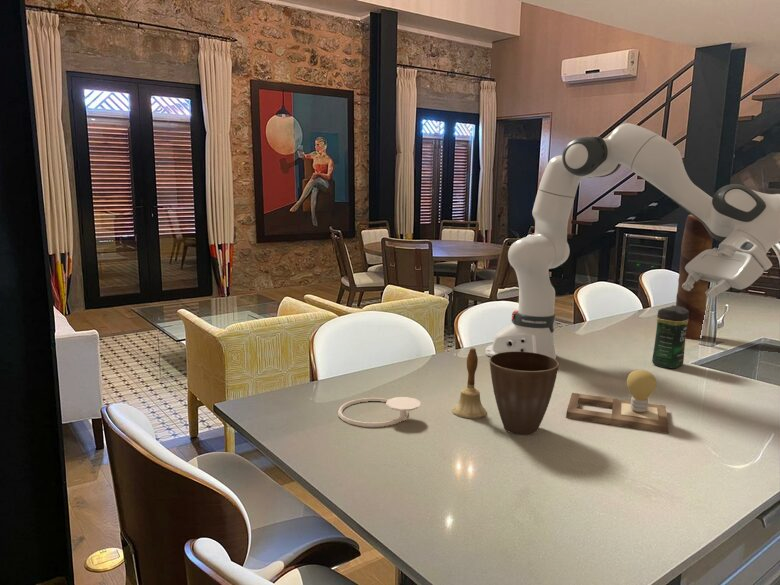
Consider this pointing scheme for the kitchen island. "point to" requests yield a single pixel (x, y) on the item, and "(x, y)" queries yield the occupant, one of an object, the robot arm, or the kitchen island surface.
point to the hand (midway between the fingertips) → (696, 292)
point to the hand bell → (470, 393)
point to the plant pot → (522, 388)
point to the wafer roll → (694, 299)
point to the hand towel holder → (395, 403)
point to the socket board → (619, 413)
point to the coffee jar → (670, 336)
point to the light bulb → (640, 389)
